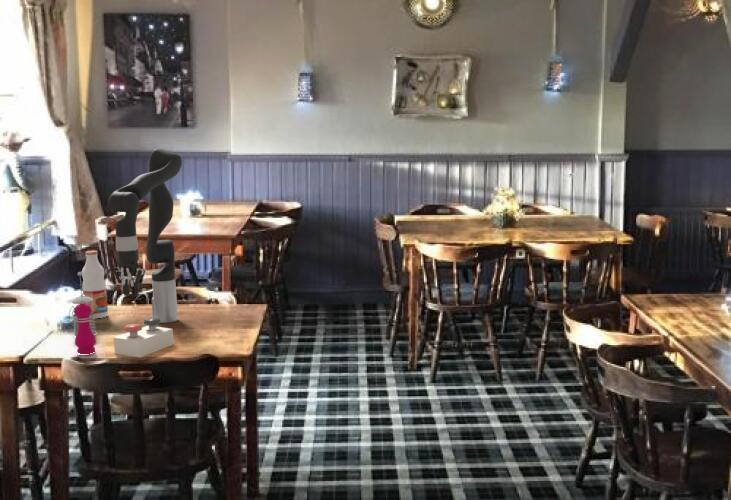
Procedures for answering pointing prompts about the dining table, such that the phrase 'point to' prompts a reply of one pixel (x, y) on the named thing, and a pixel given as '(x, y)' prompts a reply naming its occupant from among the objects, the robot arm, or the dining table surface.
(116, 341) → the control box
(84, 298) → the french press
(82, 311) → the pepper mill
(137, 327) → the red button
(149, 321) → the dark grey knob
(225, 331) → the dining table surface
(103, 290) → the fruit juice
